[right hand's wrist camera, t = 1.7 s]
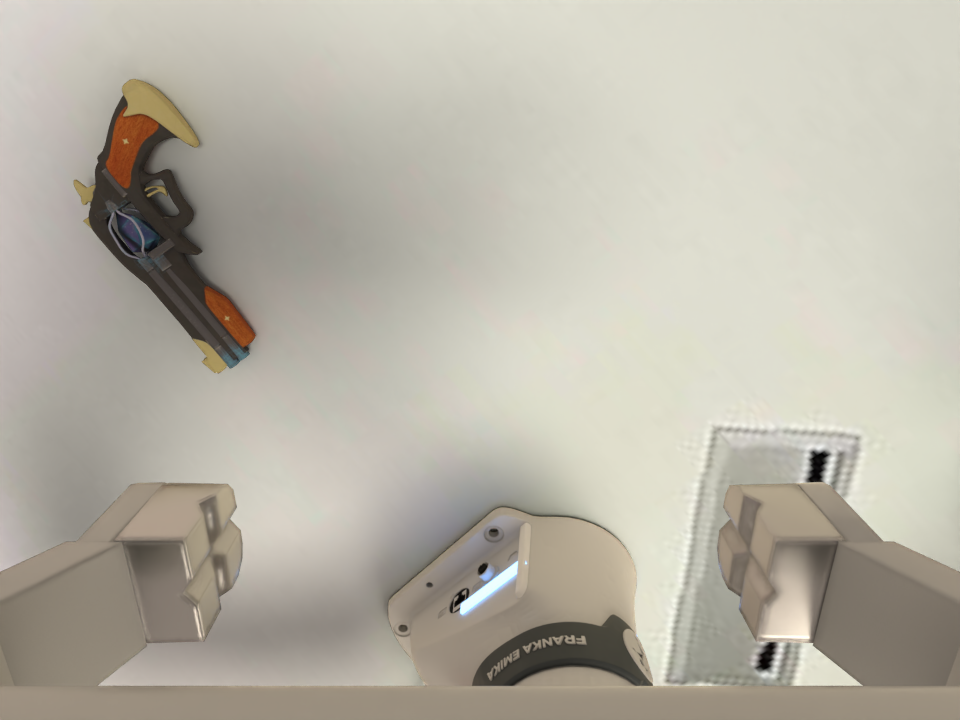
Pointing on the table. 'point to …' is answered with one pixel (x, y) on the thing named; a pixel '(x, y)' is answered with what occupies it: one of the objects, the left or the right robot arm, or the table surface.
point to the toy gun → (159, 224)
